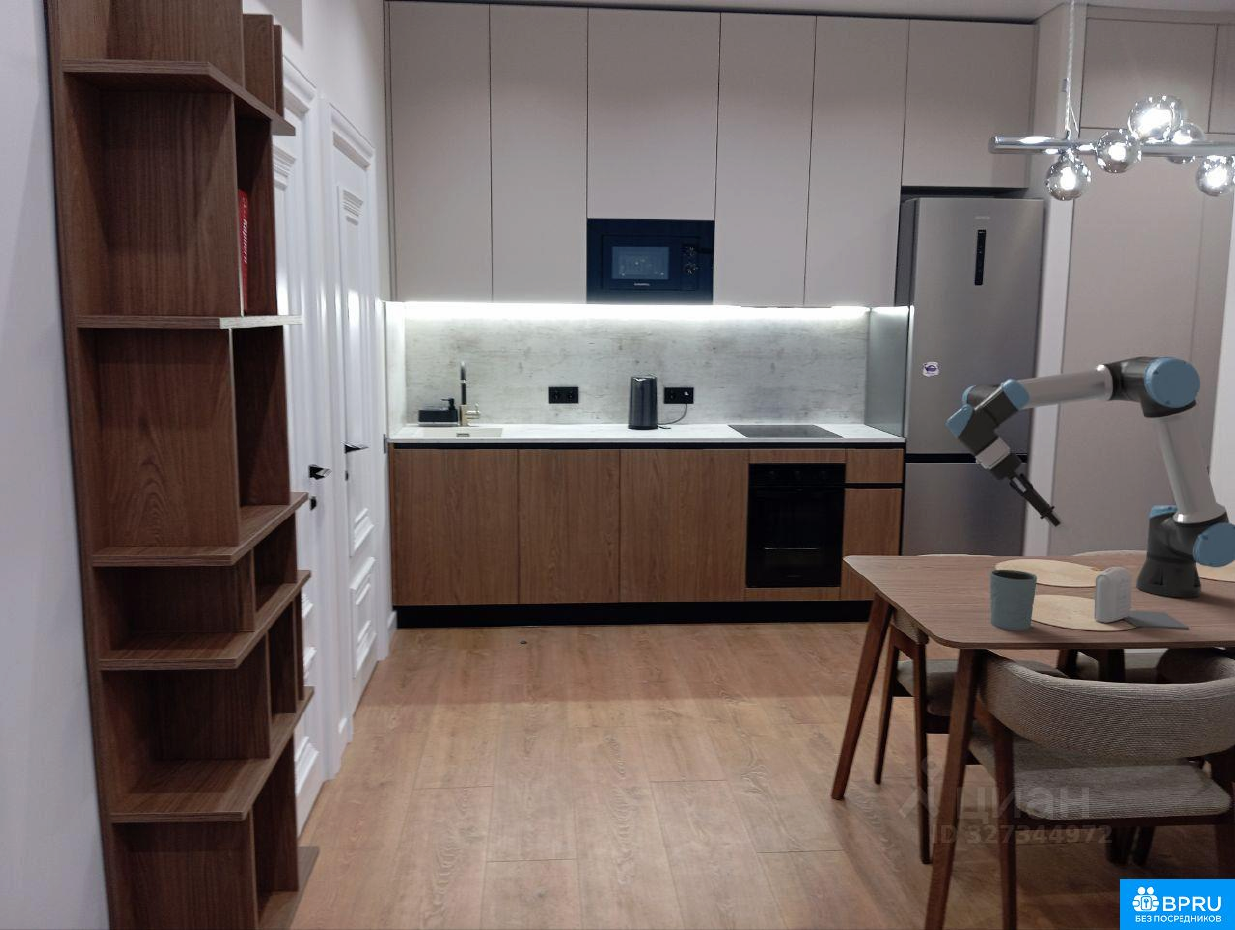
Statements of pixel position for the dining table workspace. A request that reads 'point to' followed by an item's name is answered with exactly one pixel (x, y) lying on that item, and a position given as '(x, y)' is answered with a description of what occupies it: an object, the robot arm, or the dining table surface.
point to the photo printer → (1113, 594)
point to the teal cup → (1012, 599)
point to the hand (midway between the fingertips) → (1067, 534)
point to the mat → (1154, 620)
